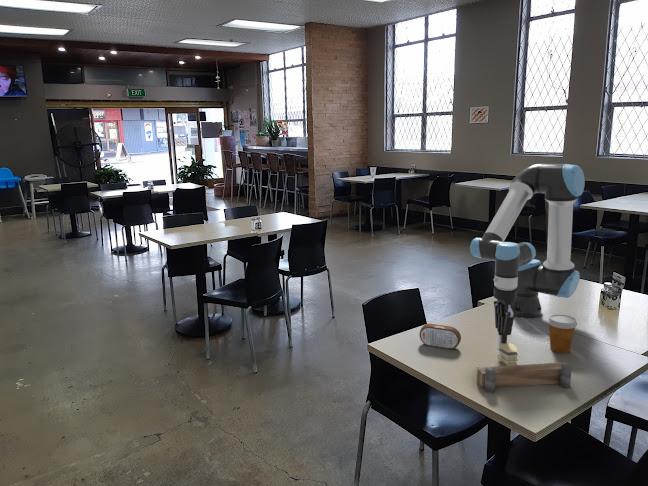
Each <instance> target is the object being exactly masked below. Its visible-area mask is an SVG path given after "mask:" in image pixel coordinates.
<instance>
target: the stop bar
mask: <svg viewBox="0 0 648 486" xmlns="http://www.w3.org/2000/svg"><path fill="white" fill-rule="evenodd" d="M572 368H573V365H572V364H571V363H569V362H561V361H560V362H550V363H549V362H548V363H547V362H546V363H530V364H529V363H528V364H516V365H511V366H507V365H497V366H496V365H495V366H483V367H481V366H480V367H479V366H478V367H477V368H476V383H477V384H478V386H479V387H480V389H484V392H486V393H490V394H493V393H495V392H496V388H505V387H507V388H509V387H525V386H539V385H550V384H551V385H554V384H556V385H557V384H558V385H559V387H561V388H564V389H569V388H570V387H571V381H572V371H573V370H572Z"/></svg>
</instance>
